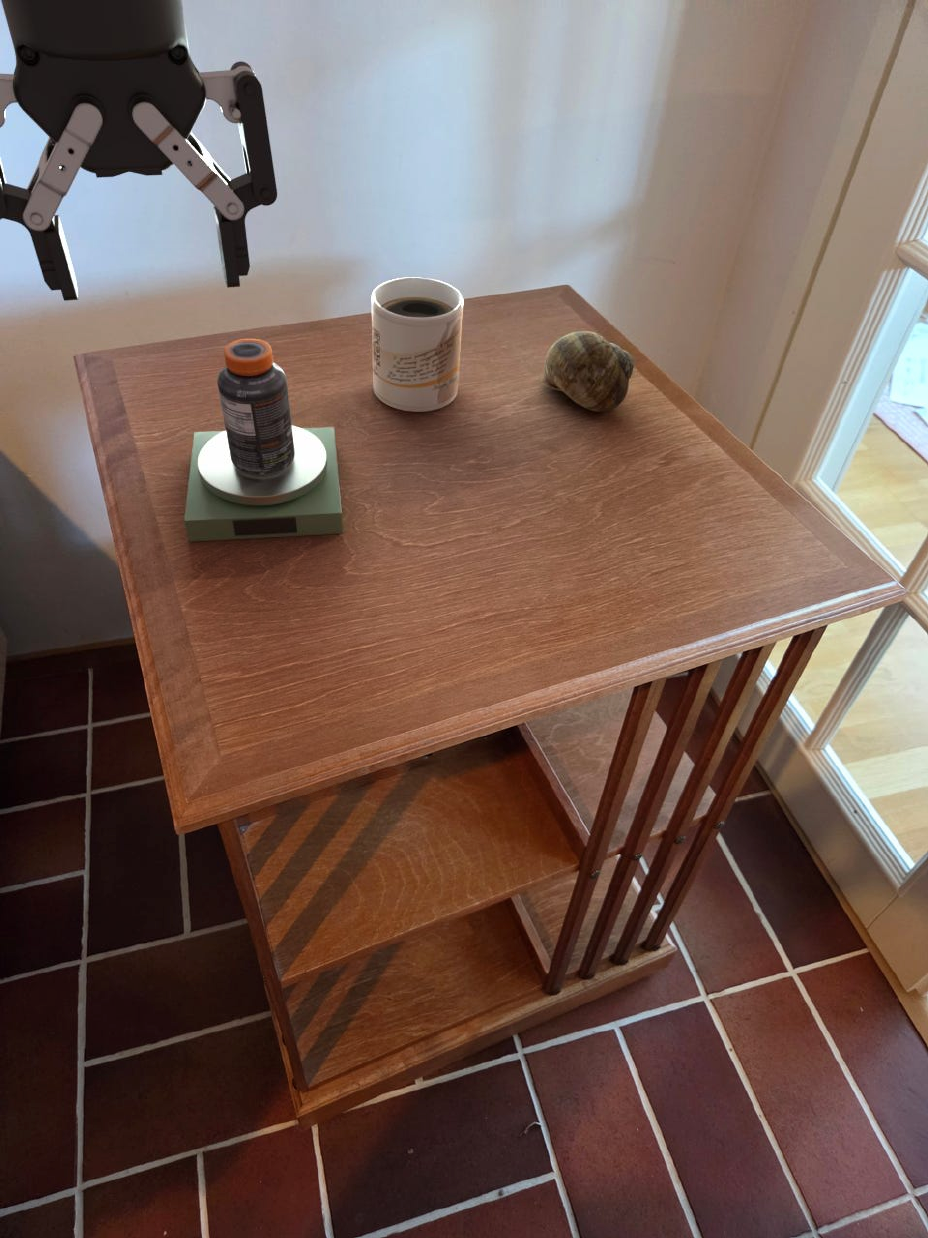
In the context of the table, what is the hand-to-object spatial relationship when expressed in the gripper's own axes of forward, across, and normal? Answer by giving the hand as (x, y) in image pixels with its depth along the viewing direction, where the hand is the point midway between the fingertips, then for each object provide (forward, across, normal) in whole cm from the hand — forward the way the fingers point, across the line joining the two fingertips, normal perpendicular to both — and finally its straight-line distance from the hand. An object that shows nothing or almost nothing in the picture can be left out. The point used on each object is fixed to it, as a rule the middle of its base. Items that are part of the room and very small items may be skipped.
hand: (153, 287), depth 46 cm
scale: (+30, -6, -19) cm, 36 cm away
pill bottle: (+26, -6, -19) cm, 33 cm away
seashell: (+30, -44, -28) cm, 60 cm away
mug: (+30, -26, -35) cm, 53 cm away
